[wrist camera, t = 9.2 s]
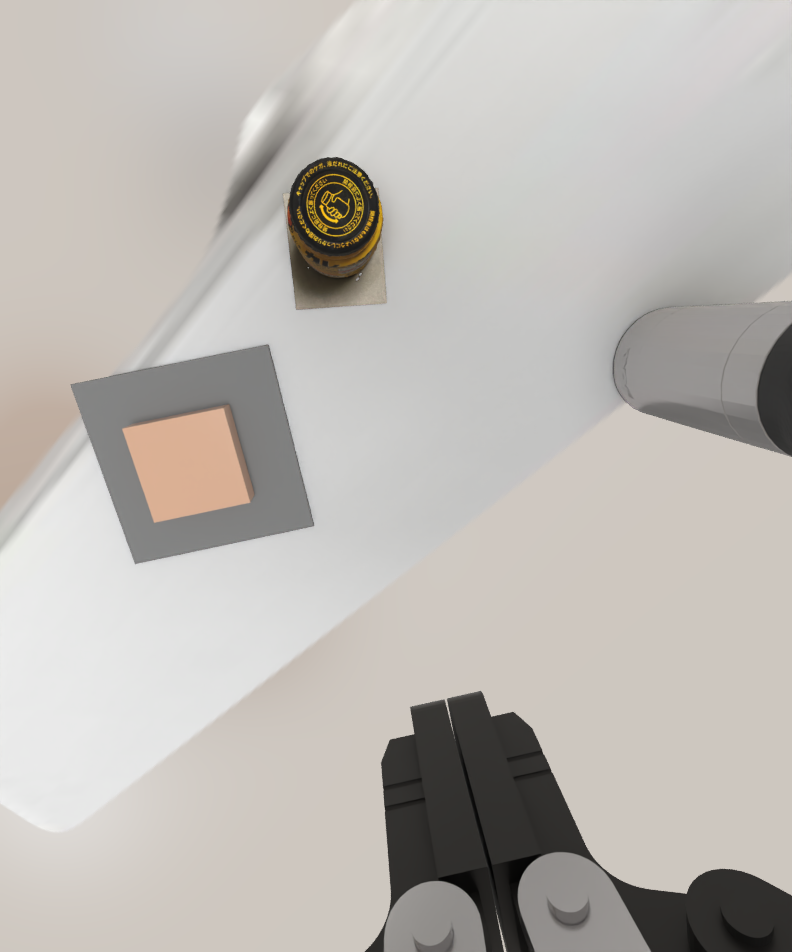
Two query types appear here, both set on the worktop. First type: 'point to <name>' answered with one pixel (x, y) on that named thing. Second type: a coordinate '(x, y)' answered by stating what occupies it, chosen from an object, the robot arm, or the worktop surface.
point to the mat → (186, 390)
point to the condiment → (335, 236)
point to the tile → (190, 463)
